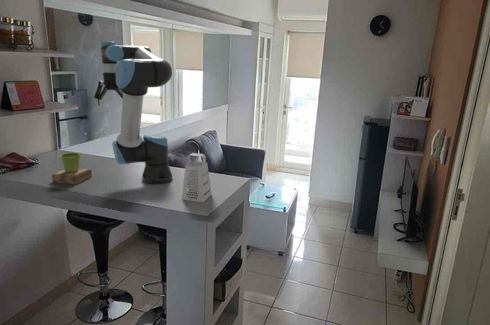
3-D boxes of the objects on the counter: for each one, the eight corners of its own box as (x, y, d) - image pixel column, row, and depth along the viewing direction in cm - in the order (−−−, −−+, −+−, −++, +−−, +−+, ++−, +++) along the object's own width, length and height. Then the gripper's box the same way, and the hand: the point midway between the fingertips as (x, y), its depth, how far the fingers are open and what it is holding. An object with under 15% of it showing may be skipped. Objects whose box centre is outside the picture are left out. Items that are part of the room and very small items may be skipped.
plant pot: (73, 167, 195) (71, 151, 193) (86, 170, 191) (84, 154, 189) (57, 172, 187) (55, 155, 185) (70, 175, 183) (68, 158, 181)
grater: (203, 202, 165) (203, 158, 159) (181, 199, 167) (180, 156, 162) (211, 194, 174) (211, 152, 169) (191, 191, 177) (190, 150, 172)
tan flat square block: (91, 176, 195) (91, 168, 194) (75, 184, 183) (75, 176, 182) (70, 174, 198) (69, 166, 196) (52, 182, 185) (51, 173, 184)
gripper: (135, 72, 197) (137, 112, 203) (93, 71, 202) (96, 110, 208) (128, 73, 190) (130, 114, 196) (85, 71, 195) (88, 111, 201)
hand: (113, 112), depth 202 cm, fingers open, 13 cm apart
